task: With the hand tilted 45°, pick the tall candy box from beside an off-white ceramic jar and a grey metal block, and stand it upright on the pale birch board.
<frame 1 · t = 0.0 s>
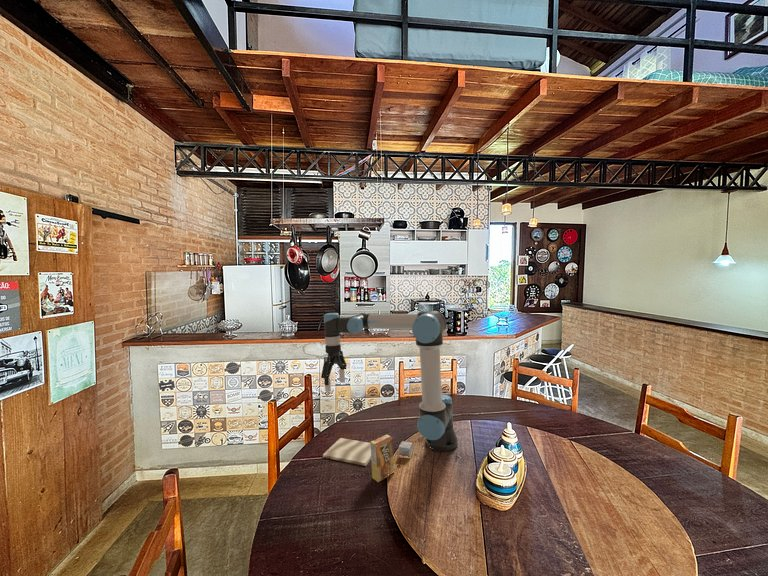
hand: (335, 386, 161), 28 cm above the table, tool pointing down, fingers open, 13 cm apart
birch board: (352, 452, 152), on the table
metal block: (406, 455, 147), on the table
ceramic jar: (386, 453, 150), on the table
candy box: (383, 476, 133), on the table
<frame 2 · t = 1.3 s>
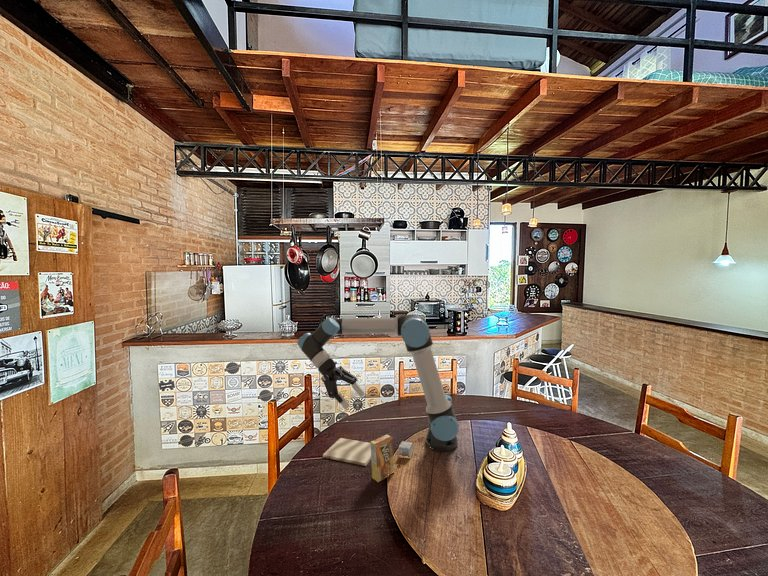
hand: (355, 401, 136), 30 cm above the table, tool tilted 45°, fingers open, 13 cm apart
nothing on the table moved.
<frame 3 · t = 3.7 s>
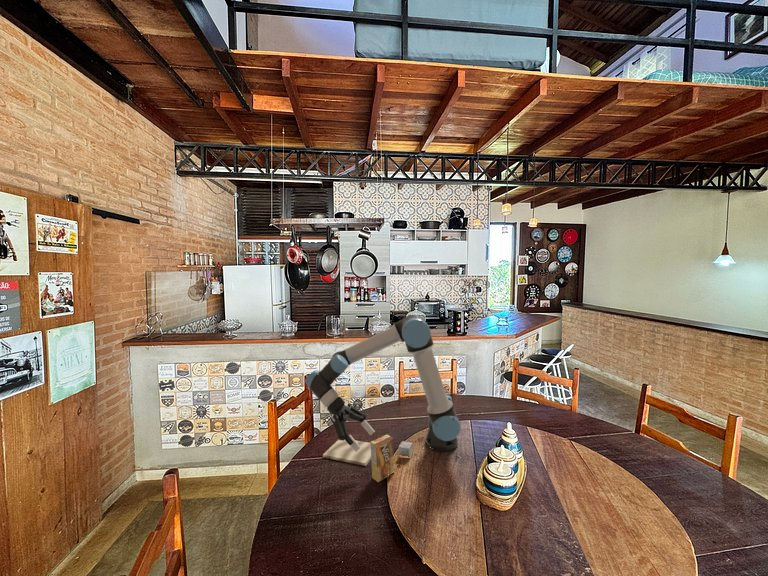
hand: (366, 441, 135), 14 cm above the table, tool tilted 45°, fingers open, 13 cm apart
nothing on the table moved.
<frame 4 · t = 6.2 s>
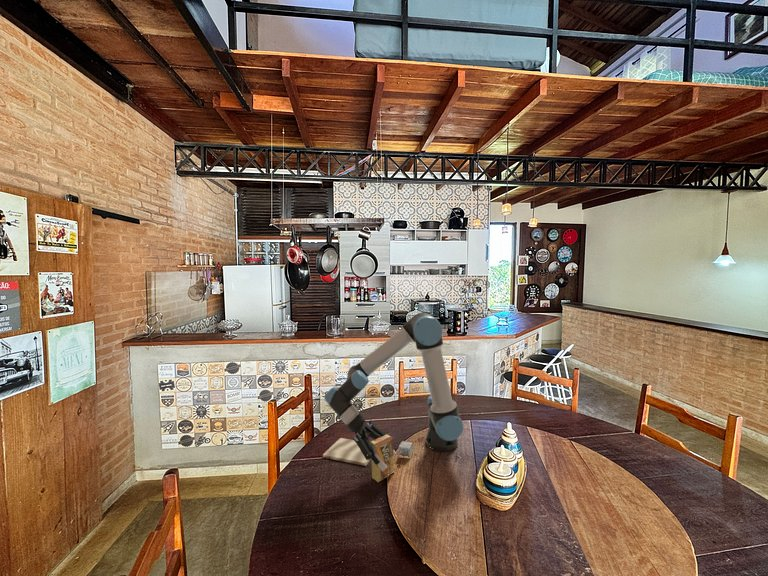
hand: (389, 462, 131), 6 cm above the table, tool tilted 45°, fingers closed on candy box, 9 cm apart
candy box: (383, 476, 133), on the table, touching gripper
everything else where it was.
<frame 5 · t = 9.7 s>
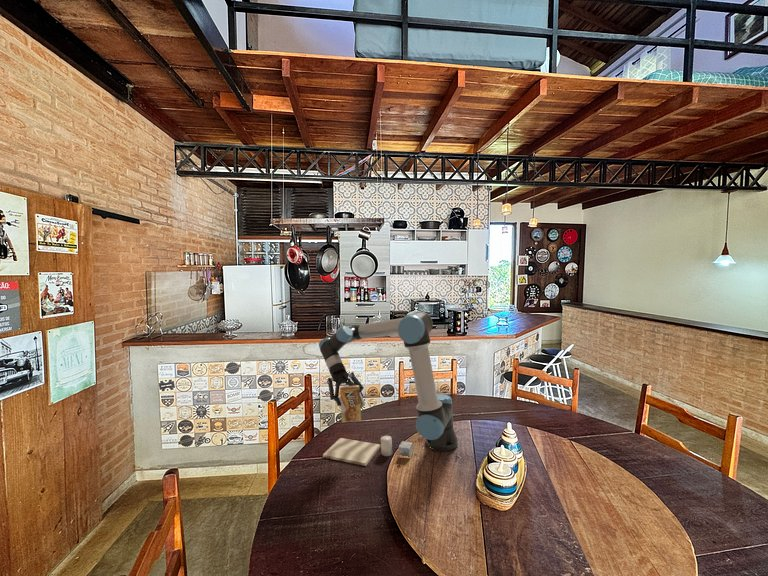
hand: (354, 408, 146), 23 cm above the table, tool tilted 45°, fingers closed on candy box, 9 cm apart
candy box: (351, 420, 149), point 16 cm above the table, touching gripper
everything else where it was.
when the fingers open (9 cm above the table, at t = 13.1 s): candy box drops 1 cm, resting on birch board.
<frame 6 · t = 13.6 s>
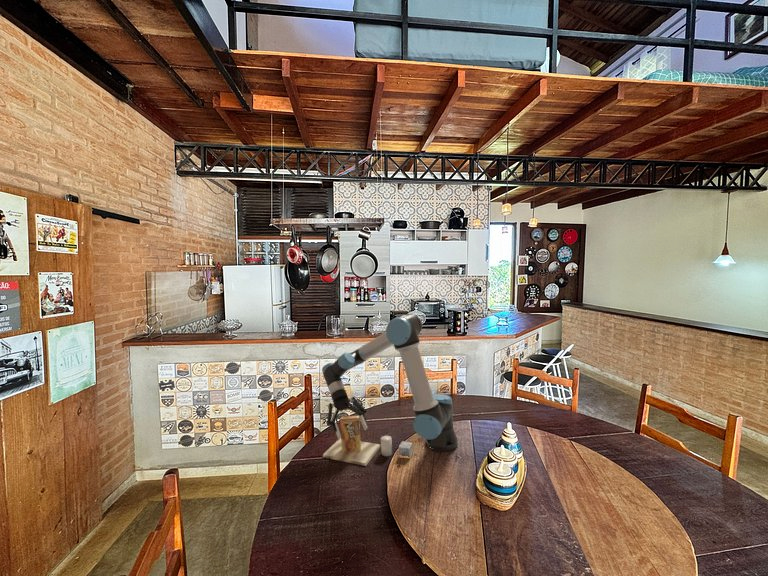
hand: (353, 433, 150), 10 cm above the table, tool tilted 45°, fingers open, 13 cm apart
candy box: (351, 450, 152), point 1 cm above the table, touching birch board
everything else where it was.
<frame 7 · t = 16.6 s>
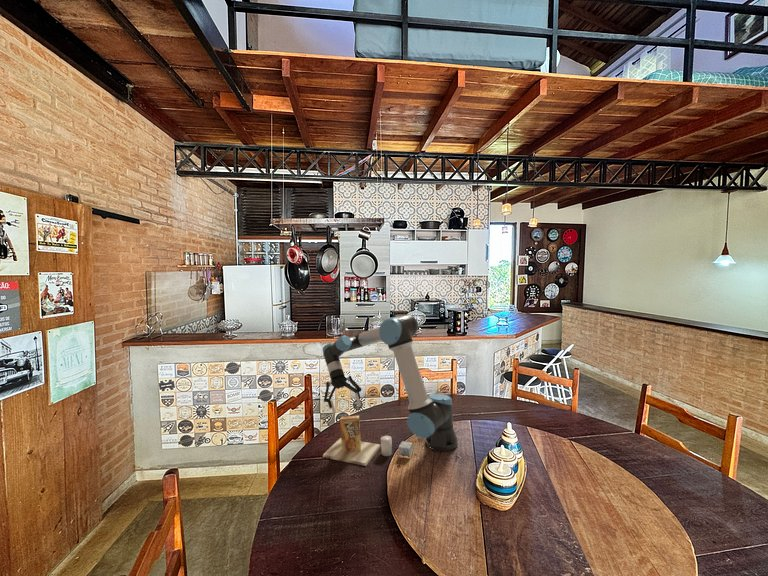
hand: (347, 409, 164), 15 cm above the table, tool tilted 40°, fingers open, 13 cm apart
nothing on the table moved.
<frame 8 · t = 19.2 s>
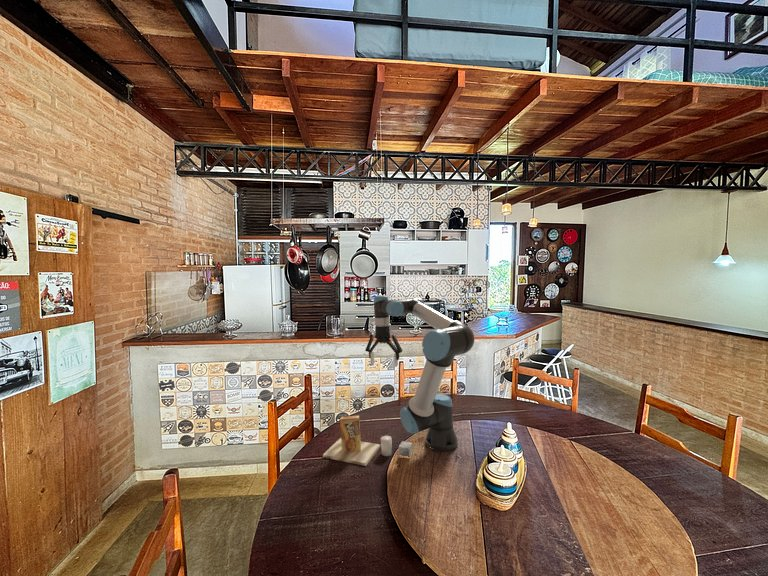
hand: (384, 365, 171), 35 cm above the table, tool pointing down, fingers open, 13 cm apart
nothing on the table moved.
at the end: candy box inside the target area on the birch board (0.3 cm from its centre), point 1.0 cm above the birch board's base; candy box tilted 0°; the gripper is holding nothing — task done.
